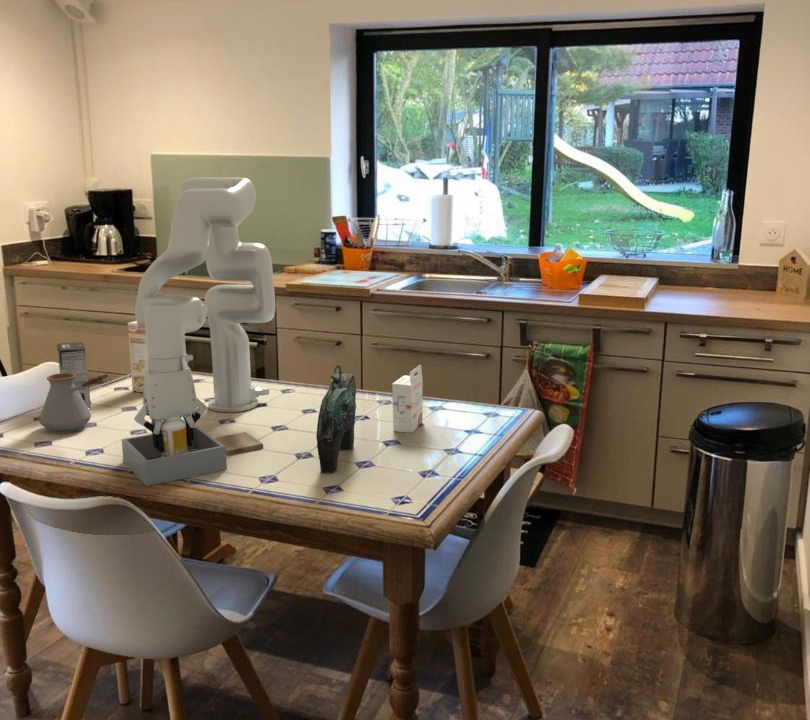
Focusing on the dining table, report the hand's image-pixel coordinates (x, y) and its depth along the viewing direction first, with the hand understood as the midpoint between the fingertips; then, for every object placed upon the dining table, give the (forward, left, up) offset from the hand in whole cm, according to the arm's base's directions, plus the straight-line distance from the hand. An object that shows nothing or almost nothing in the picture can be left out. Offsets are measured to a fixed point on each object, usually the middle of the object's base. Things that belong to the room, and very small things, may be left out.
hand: (174, 446), depth 177 cm
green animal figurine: (-31, +15, -4) cm, 35 cm away
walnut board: (-15, -5, -4) cm, 16 cm away
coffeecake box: (-17, -65, -4) cm, 67 cm away
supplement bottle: (0, 0, -2) cm, 2 cm away
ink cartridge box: (-55, +5, -4) cm, 55 cm away
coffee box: (+7, -58, -4) cm, 58 cm away
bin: (0, 0, -4) cm, 4 cm away
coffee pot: (+11, -35, -4) cm, 37 cm away
